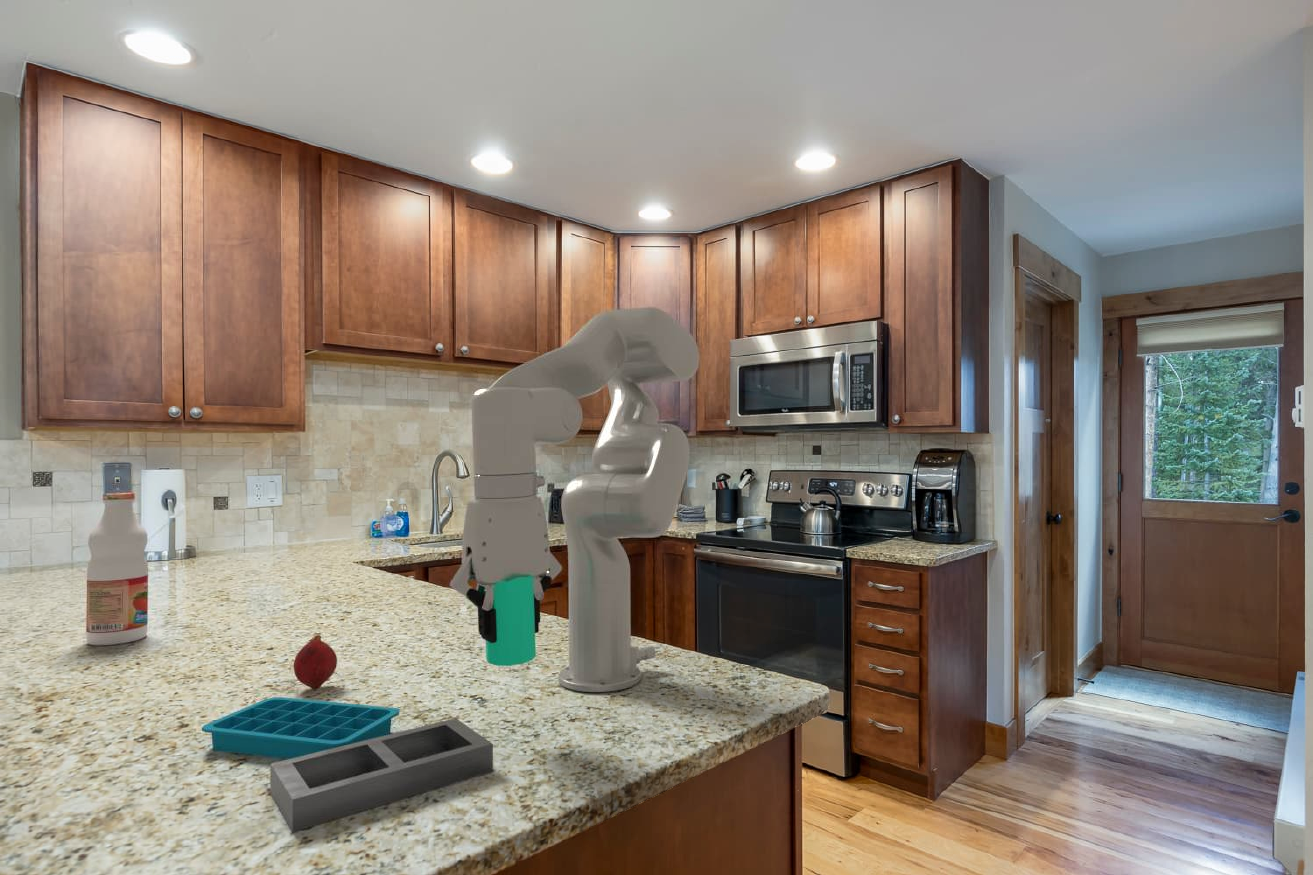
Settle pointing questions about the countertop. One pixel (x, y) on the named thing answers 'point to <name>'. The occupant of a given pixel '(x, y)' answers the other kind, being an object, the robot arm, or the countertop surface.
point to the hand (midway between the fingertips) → (510, 633)
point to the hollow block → (377, 772)
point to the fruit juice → (117, 575)
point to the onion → (315, 663)
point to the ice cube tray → (298, 727)
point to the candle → (513, 623)
